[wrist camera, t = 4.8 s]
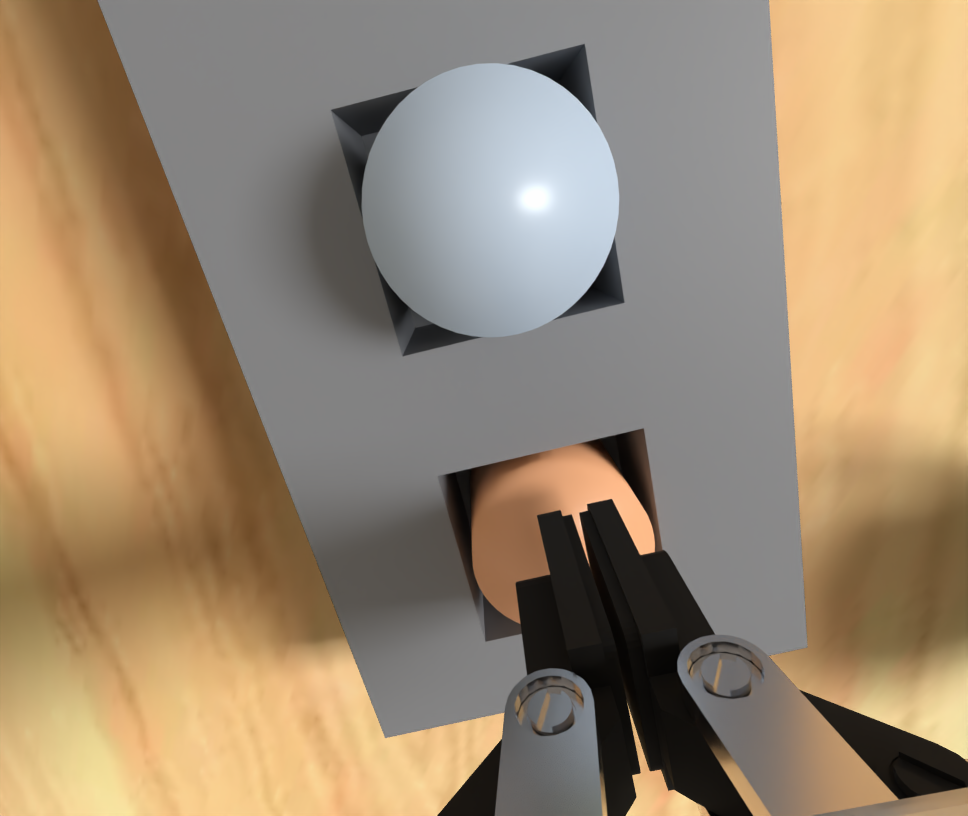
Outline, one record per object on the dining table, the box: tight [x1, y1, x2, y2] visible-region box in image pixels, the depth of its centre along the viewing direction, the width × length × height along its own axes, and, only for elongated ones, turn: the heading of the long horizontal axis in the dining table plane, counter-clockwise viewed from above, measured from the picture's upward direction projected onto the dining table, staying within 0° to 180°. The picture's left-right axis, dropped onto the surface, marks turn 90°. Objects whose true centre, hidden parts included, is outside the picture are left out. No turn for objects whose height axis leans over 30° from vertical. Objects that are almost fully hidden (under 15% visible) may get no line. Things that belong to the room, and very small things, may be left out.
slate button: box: [362, 63, 619, 337], centre depth 11 cm, size 4×4×4 cm
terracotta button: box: [470, 439, 655, 623], centre depth 15 cm, size 4×4×4 cm
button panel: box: [98, 0, 807, 738], centre depth 14 cm, size 12×26×4 cm, turn 13°
